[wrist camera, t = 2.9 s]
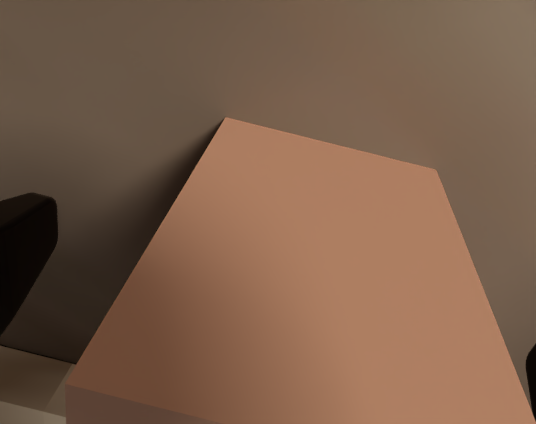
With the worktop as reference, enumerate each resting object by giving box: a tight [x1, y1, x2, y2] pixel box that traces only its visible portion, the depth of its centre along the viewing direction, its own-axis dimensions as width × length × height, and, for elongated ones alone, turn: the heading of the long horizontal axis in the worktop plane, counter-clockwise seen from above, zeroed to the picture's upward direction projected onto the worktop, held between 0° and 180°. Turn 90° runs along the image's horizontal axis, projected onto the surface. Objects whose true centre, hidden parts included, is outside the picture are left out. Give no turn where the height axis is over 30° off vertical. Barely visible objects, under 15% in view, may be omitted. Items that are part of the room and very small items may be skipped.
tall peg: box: [65, 117, 536, 424], centre depth 7 cm, size 4×4×6 cm
